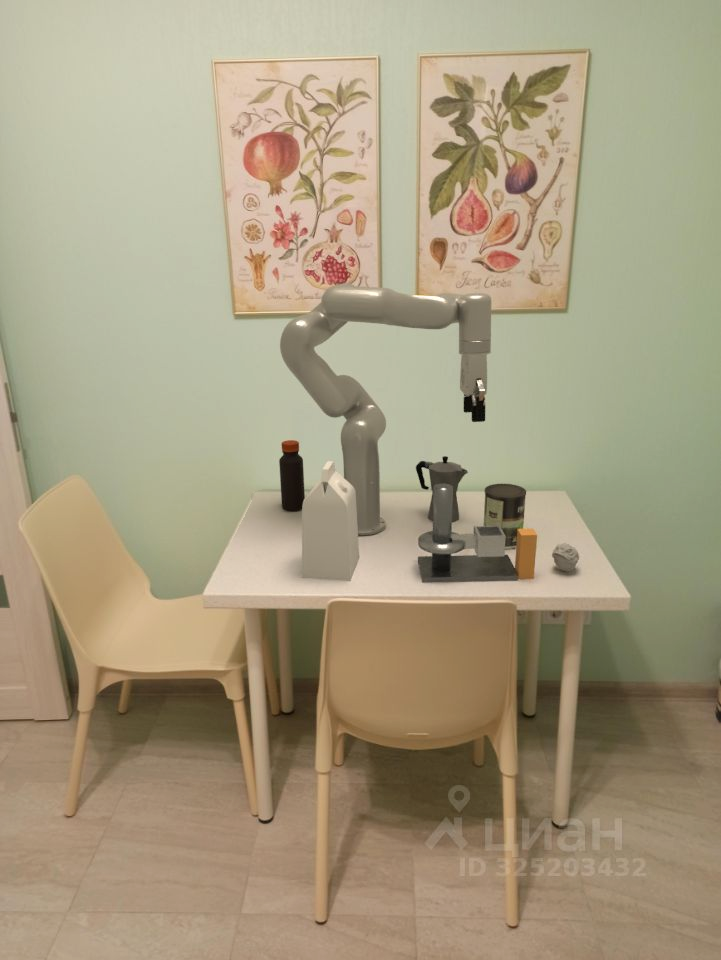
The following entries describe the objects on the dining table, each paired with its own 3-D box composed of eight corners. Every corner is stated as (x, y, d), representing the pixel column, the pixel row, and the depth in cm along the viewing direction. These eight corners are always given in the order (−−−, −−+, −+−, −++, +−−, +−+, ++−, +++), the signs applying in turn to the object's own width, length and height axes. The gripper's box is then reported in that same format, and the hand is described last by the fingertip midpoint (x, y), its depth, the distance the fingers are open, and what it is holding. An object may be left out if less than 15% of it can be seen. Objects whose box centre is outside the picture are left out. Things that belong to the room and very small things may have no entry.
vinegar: (295, 513, 196) (292, 447, 189) (277, 509, 199) (273, 443, 193) (309, 506, 201) (306, 441, 195) (291, 502, 205) (288, 438, 198)
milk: (314, 555, 170) (309, 456, 161) (359, 558, 168) (357, 458, 160) (301, 577, 159) (296, 472, 150) (350, 581, 157) (347, 474, 148)
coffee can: (525, 535, 179) (528, 485, 175) (519, 551, 170) (523, 499, 165) (486, 530, 183) (488, 481, 178) (478, 546, 174) (481, 494, 169)
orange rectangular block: (518, 578, 157) (521, 535, 153) (514, 571, 160) (517, 528, 157) (533, 578, 157) (537, 535, 153) (529, 571, 160) (533, 528, 157)
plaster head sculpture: (544, 571, 160) (547, 544, 158) (560, 561, 165) (562, 535, 163) (568, 579, 156) (571, 552, 154) (583, 569, 161) (586, 542, 158)
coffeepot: (471, 516, 192) (474, 455, 186) (458, 527, 185) (460, 464, 179) (422, 506, 200) (423, 447, 194) (408, 517, 192) (408, 456, 186)
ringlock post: (420, 582, 156) (421, 496, 149) (415, 561, 166) (416, 479, 159) (518, 580, 156) (524, 494, 149) (507, 558, 167) (512, 477, 159)
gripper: (452, 342, 171) (452, 409, 177) (466, 353, 155) (466, 426, 160) (482, 341, 171) (481, 407, 177) (499, 351, 155) (497, 424, 161)
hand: (474, 416), depth 169 cm, fingers open, 9 cm apart
